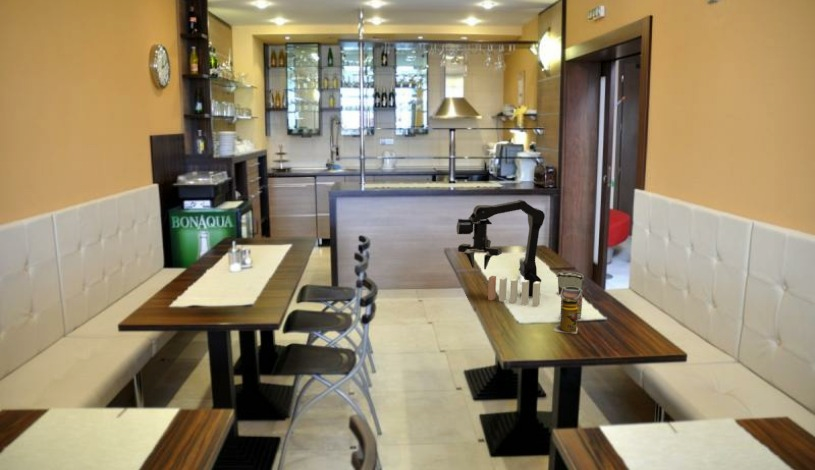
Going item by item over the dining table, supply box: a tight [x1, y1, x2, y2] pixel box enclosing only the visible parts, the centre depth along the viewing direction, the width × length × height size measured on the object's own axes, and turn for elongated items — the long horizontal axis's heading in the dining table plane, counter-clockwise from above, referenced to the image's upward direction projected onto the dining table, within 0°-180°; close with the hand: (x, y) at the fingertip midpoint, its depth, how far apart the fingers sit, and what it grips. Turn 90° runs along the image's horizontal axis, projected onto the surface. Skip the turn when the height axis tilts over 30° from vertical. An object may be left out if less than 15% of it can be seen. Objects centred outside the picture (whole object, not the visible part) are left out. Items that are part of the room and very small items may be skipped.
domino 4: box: [520, 279, 529, 306], centre depth 267 cm, size 2×4×10 cm, turn 152°
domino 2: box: [498, 276, 508, 303], centre depth 272 cm, size 2×4×10 cm, turn 152°
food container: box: [556, 271, 585, 296], centre depth 283 cm, size 12×6×10 cm, turn 65°
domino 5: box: [532, 281, 542, 308], centre depth 265 cm, size 2×4×10 cm, turn 152°
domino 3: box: [509, 278, 519, 304], centre depth 269 cm, size 2×4×10 cm, turn 152°
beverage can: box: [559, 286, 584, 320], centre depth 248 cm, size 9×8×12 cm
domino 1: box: [487, 275, 497, 301], centre depth 274 cm, size 2×4×10 cm, turn 152°
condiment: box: [553, 298, 578, 334], centre depth 233 cm, size 7×8×12 cm
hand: (479, 268), depth 275 cm, fingers open, 5 cm apart
